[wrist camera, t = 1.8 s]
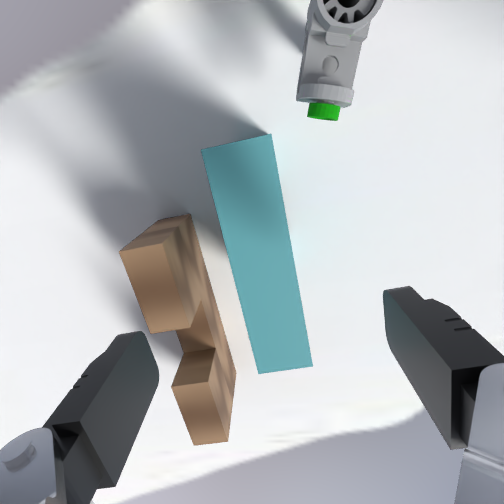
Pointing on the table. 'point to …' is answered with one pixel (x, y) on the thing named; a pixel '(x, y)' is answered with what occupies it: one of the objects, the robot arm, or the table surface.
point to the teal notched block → (259, 250)
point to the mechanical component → (332, 54)
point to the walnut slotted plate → (185, 322)
